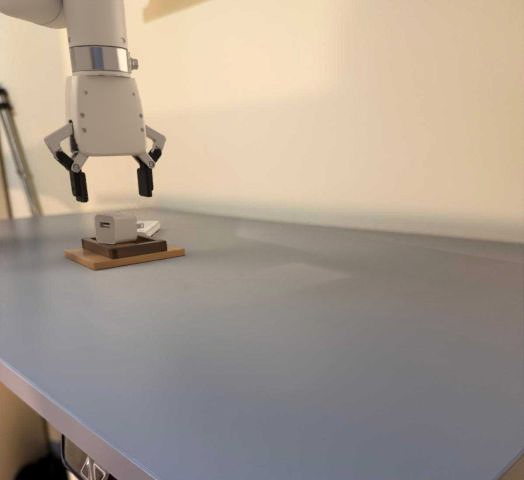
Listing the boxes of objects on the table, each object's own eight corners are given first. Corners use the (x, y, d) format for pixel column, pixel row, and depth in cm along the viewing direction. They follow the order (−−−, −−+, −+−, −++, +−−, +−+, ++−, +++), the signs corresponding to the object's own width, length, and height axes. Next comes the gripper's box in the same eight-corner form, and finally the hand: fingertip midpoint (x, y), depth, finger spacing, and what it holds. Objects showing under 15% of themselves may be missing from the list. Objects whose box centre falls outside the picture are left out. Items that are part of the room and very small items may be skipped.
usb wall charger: (96, 242, 78) (93, 213, 77) (129, 236, 84) (128, 210, 82) (116, 244, 76) (114, 215, 75) (149, 239, 82) (148, 212, 81)
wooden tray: (64, 257, 81) (62, 240, 80) (149, 244, 89) (147, 229, 88) (94, 270, 72) (92, 251, 72) (185, 255, 80) (184, 238, 79)
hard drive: (117, 221, 104) (98, 232, 92) (160, 220, 104) (145, 230, 92) (118, 230, 104) (99, 241, 93) (160, 229, 104) (147, 240, 93)
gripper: (147, 72, 79) (157, 192, 85) (25, 64, 69) (46, 201, 76) (172, 67, 74) (180, 196, 80) (42, 58, 64) (64, 206, 70)
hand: (115, 199), depth 78 cm, fingers open, 9 cm apart
